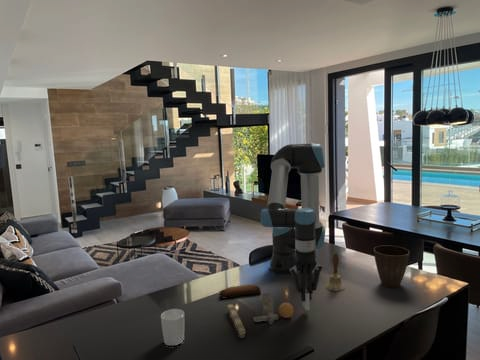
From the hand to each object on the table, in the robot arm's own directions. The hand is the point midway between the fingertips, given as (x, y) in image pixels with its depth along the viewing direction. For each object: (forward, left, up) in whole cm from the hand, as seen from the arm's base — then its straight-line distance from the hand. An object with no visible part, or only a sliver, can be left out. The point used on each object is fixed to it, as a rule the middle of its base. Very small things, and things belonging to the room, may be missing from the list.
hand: (306, 308), depth 140 cm
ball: (+1, -8, +1) cm, 9 cm away
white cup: (+5, -51, -2) cm, 51 cm away
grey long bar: (0, -28, -2) cm, 28 cm away
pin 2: (+3, -16, -2) cm, 16 cm away
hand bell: (-18, +22, -2) cm, 29 cm away
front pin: (+1, -12, -1) cm, 12 cm away
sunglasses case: (-26, -21, -3) cm, 33 cm away
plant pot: (-13, +47, -2) cm, 49 cm away
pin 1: (-3, -16, -2) cm, 16 cm away
